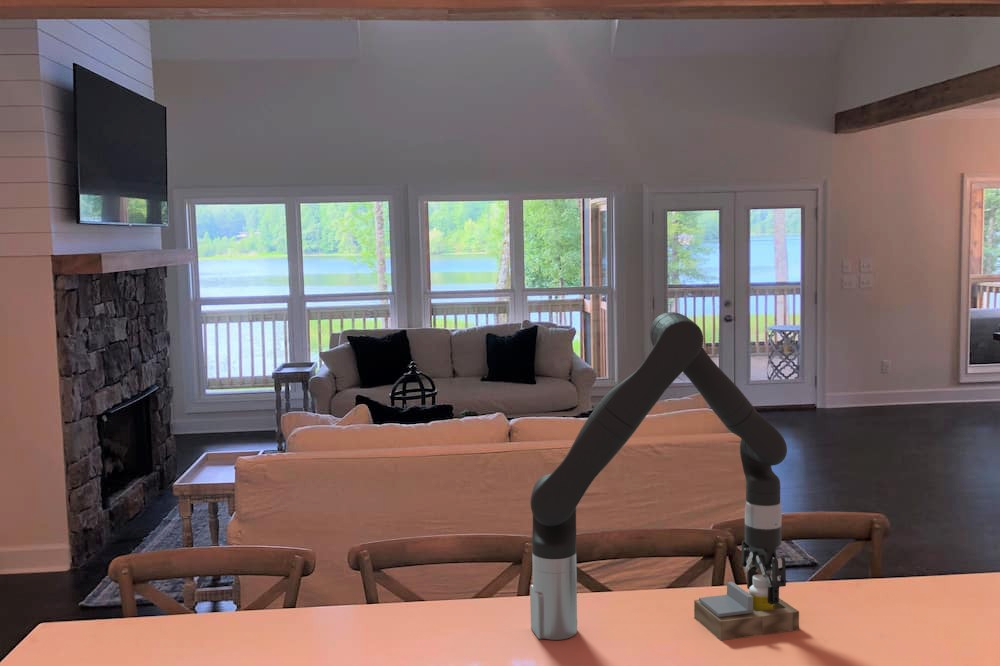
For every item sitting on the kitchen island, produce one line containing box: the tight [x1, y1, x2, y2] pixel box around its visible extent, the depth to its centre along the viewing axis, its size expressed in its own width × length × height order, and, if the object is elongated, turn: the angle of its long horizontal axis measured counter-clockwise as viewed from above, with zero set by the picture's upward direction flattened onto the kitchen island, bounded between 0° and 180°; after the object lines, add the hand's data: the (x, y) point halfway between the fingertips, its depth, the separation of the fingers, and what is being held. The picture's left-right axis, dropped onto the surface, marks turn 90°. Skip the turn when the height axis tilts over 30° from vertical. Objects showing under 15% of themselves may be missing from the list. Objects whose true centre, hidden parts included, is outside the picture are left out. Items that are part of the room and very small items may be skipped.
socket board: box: [693, 597, 800, 641], centre depth 194 cm, size 18×12×4 cm, turn 104°
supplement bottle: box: [748, 573, 775, 612], centre depth 195 cm, size 5×5×10 cm
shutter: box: [698, 581, 754, 617], centre depth 193 cm, size 8×9×4 cm
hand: (762, 596), depth 195 cm, fingers open, 8 cm apart
